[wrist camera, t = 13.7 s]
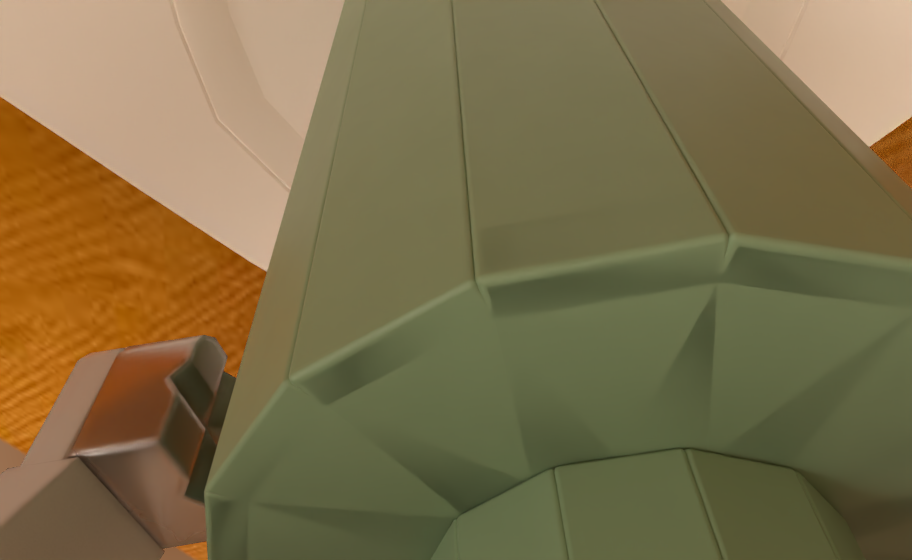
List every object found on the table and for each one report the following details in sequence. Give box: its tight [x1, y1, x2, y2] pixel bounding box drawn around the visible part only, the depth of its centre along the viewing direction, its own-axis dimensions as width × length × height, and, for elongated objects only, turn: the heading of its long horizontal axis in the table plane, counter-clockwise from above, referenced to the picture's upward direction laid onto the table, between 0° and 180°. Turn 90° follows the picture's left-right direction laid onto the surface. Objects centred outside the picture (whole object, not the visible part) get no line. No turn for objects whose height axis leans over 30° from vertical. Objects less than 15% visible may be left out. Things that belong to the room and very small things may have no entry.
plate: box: [0, 0, 912, 272], centre depth 17 cm, size 20×20×3 cm
